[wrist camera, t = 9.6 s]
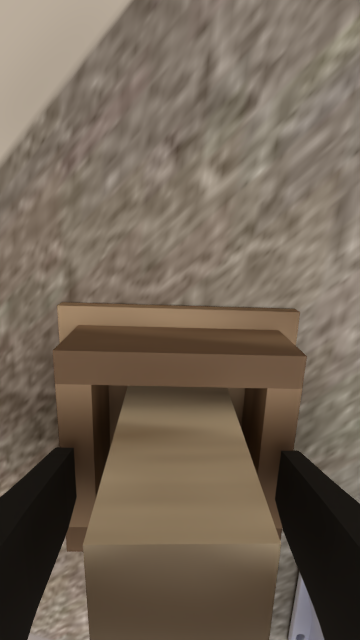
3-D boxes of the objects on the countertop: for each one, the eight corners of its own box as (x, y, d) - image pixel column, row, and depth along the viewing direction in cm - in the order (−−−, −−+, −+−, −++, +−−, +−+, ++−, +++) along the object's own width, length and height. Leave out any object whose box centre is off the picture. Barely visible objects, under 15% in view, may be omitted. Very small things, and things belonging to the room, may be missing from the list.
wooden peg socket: (270, 498, 17) (295, 567, 13) (73, 496, 17) (47, 567, 13) (294, 308, 14) (333, 333, 11) (61, 302, 14) (25, 326, 11)
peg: (218, 454, 15) (264, 677, 8) (132, 454, 15) (93, 680, 8) (223, 375, 14) (281, 543, 7) (130, 375, 14) (82, 545, 7)
